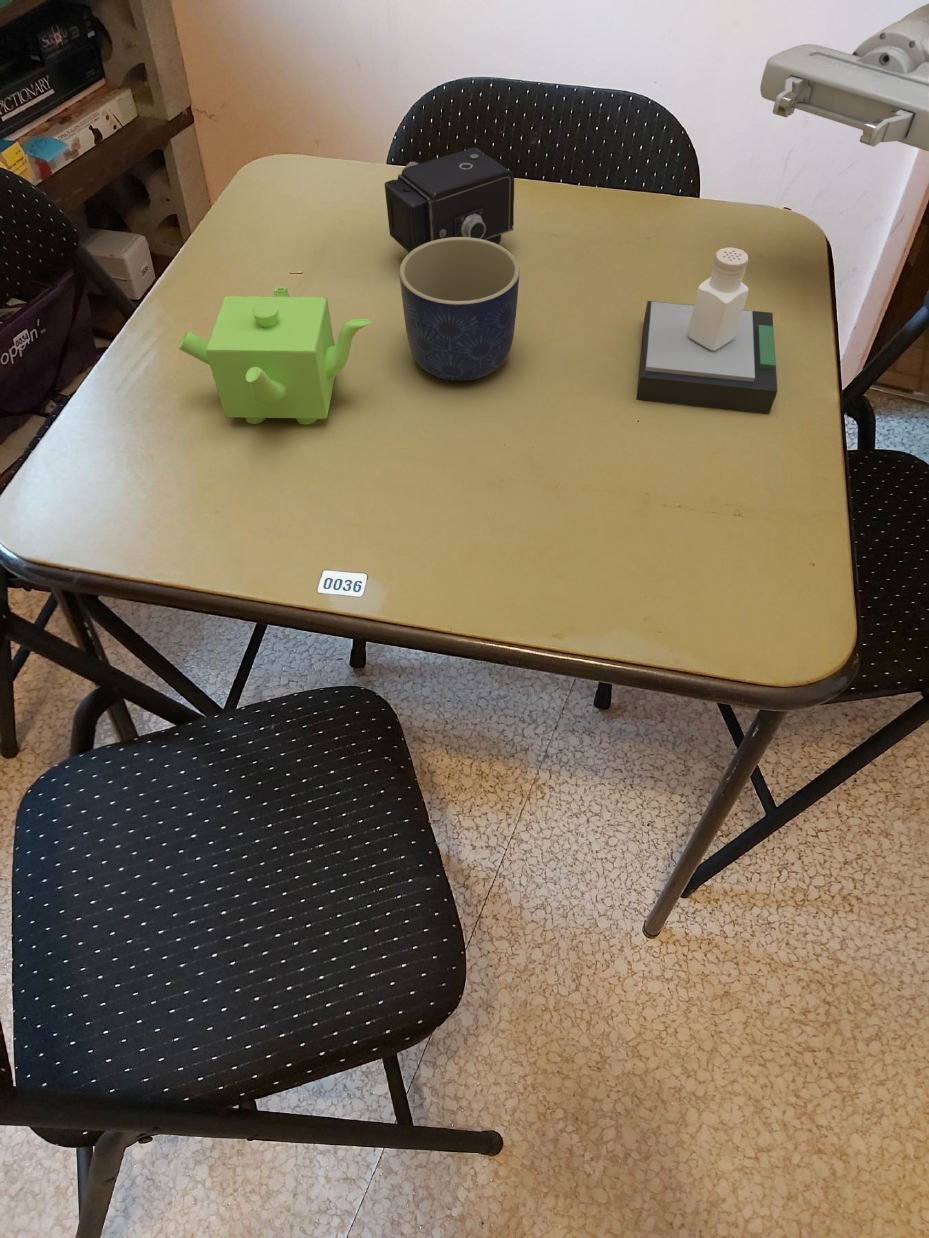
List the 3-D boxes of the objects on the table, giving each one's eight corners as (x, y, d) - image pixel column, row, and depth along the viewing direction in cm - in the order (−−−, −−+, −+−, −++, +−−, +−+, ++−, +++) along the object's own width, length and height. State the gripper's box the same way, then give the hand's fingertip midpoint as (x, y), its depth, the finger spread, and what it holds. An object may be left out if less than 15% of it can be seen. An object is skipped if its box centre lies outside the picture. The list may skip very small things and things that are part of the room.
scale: (765, 335, 97) (774, 307, 94) (769, 414, 89) (779, 386, 86) (643, 323, 98) (648, 296, 95) (636, 399, 90) (641, 372, 87)
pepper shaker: (684, 337, 91) (703, 255, 83) (707, 323, 92) (728, 240, 85) (713, 354, 89) (735, 271, 81) (736, 339, 90) (761, 256, 83)
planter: (461, 312, 100) (460, 223, 91) (538, 358, 95) (544, 268, 86) (383, 358, 95) (374, 268, 86) (459, 408, 90) (458, 318, 81)
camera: (472, 229, 113) (375, 252, 107) (480, 138, 105) (375, 158, 99) (518, 264, 108) (419, 290, 102) (530, 172, 99) (422, 194, 93)
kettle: (381, 401, 90) (371, 309, 81) (277, 467, 85) (253, 376, 76) (295, 342, 97) (276, 250, 88) (192, 400, 91) (160, 308, 82)
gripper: (809, 17, 89) (738, 56, 83) (1001, 69, 80) (937, 116, 74) (791, 83, 94) (723, 124, 88) (970, 138, 85) (908, 188, 79)
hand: (823, 121), depth 81 cm, fingers open, 8 cm apart
